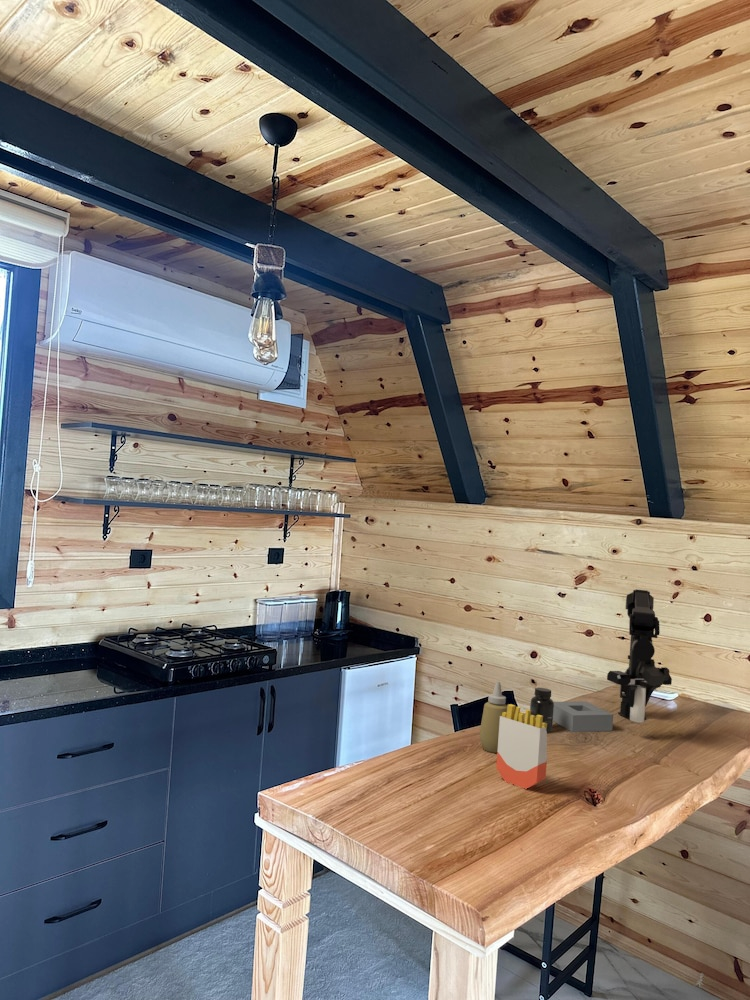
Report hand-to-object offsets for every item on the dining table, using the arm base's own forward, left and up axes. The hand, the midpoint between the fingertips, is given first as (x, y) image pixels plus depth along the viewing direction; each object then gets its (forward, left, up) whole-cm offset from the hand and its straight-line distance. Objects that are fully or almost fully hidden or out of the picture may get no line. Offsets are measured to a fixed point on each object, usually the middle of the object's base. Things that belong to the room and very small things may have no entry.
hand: (637, 706), depth 201 cm
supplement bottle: (+26, -10, -10) cm, 29 cm away
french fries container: (+53, +27, -10) cm, 60 cm away
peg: (0, 0, -4) cm, 4 cm away
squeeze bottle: (+49, +5, -10) cm, 50 cm away
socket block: (+10, -14, -9) cm, 20 cm away
